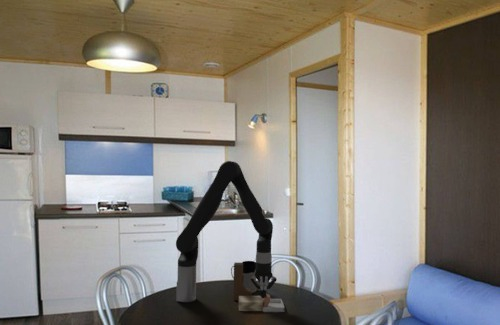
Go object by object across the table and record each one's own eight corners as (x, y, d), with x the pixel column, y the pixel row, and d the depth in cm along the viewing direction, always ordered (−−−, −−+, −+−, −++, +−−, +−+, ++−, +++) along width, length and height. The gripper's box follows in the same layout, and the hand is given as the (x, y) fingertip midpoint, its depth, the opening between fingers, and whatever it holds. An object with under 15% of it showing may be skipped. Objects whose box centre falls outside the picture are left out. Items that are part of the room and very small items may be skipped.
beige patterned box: (238, 310, 177) (239, 302, 177) (238, 304, 186) (238, 295, 186) (262, 310, 178) (262, 302, 178) (261, 304, 187) (261, 295, 187)
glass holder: (258, 292, 204) (258, 264, 204) (232, 293, 201) (232, 265, 201) (254, 287, 213) (255, 260, 213) (229, 288, 210) (229, 261, 210)
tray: (262, 312, 176) (263, 307, 176) (261, 302, 188) (261, 298, 188) (284, 312, 177) (284, 307, 177) (281, 302, 189) (281, 298, 189)
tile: (266, 296, 180) (270, 298, 180) (265, 293, 185) (269, 294, 185) (262, 307, 180) (266, 308, 180) (262, 303, 185) (266, 304, 185)
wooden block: (251, 298, 195) (252, 262, 195) (251, 301, 191) (251, 264, 191) (233, 297, 195) (234, 262, 196) (233, 300, 191) (233, 264, 191)
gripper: (250, 262, 179) (249, 300, 178) (278, 262, 179) (278, 300, 179) (249, 259, 186) (249, 294, 186) (276, 259, 187) (276, 294, 186)
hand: (263, 297), depth 182 cm, fingers closed
